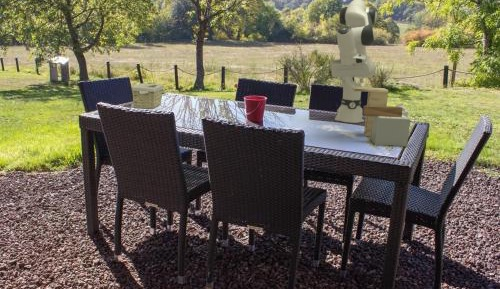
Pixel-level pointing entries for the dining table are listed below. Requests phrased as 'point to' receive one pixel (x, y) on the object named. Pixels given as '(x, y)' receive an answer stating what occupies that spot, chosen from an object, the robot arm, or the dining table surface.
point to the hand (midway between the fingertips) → (352, 83)
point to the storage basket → (147, 95)
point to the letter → (393, 117)
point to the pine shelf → (373, 103)
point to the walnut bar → (382, 111)
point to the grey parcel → (390, 131)
